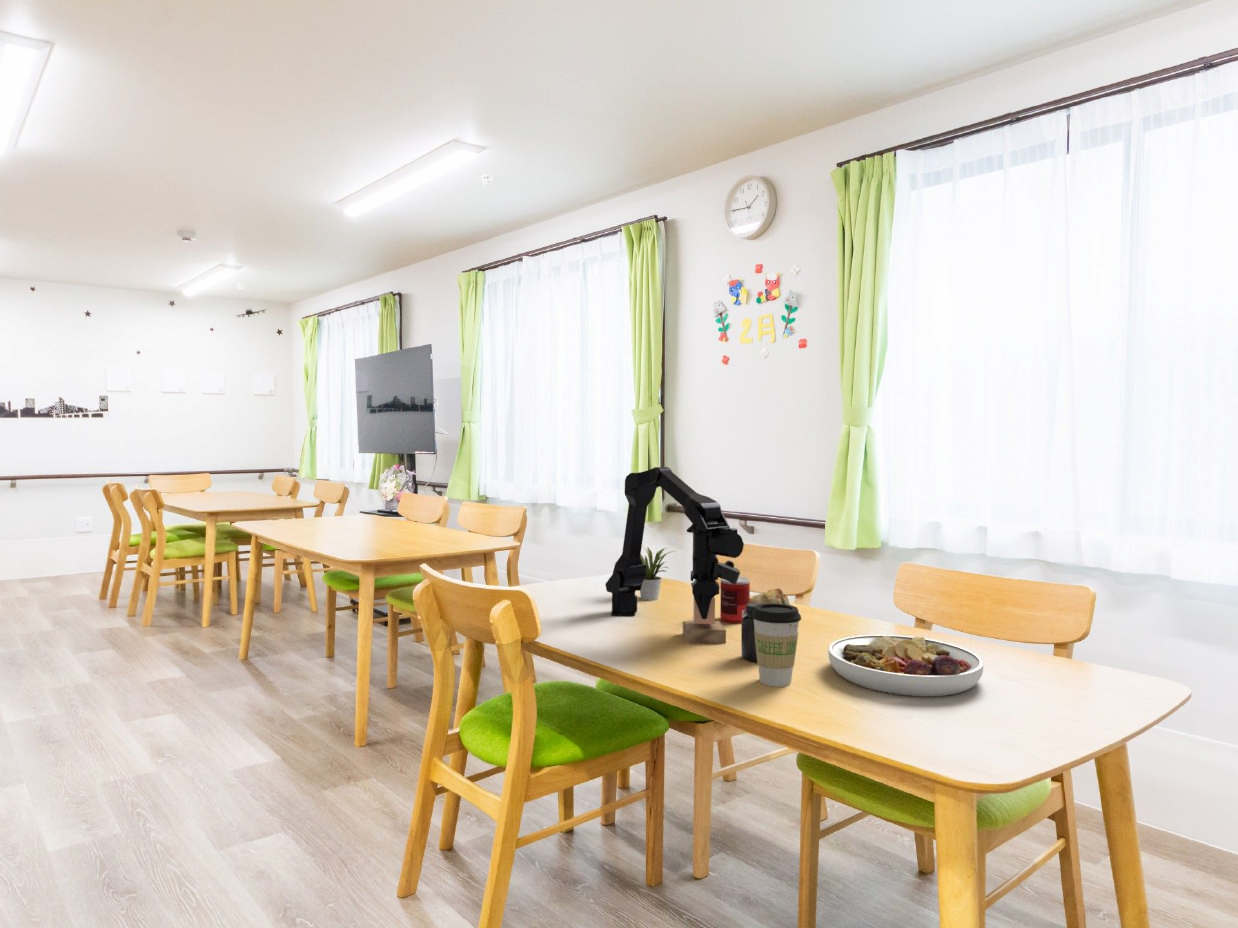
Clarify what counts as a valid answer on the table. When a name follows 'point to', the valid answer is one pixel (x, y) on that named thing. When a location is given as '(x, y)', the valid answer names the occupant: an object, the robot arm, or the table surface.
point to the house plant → (652, 576)
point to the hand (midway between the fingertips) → (703, 616)
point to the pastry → (770, 597)
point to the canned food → (734, 600)
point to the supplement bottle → (748, 634)
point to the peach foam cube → (710, 616)
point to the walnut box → (704, 632)
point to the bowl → (905, 664)
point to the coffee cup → (776, 642)
